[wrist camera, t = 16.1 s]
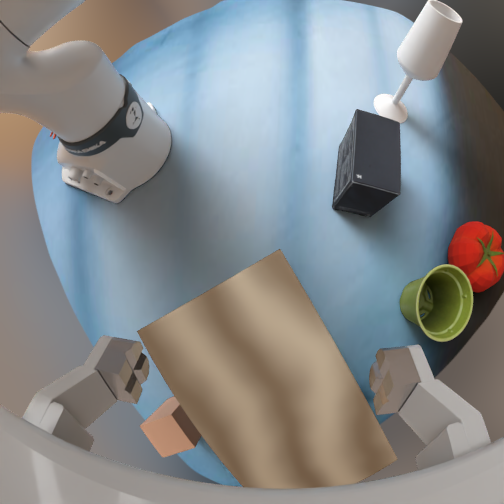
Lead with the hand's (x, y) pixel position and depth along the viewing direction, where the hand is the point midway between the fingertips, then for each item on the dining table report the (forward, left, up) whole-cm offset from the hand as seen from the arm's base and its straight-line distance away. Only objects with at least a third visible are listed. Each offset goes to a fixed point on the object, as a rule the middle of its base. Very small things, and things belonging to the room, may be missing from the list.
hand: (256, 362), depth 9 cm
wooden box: (+3, -8, -29) cm, 30 cm away
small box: (+10, +20, -29) cm, 37 cm away
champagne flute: (+16, +36, -29) cm, 49 cm away
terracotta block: (-8, -17, -29) cm, 35 cm away
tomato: (+31, +12, -29) cm, 44 cm away
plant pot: (+22, +4, -29) cm, 37 cm away
